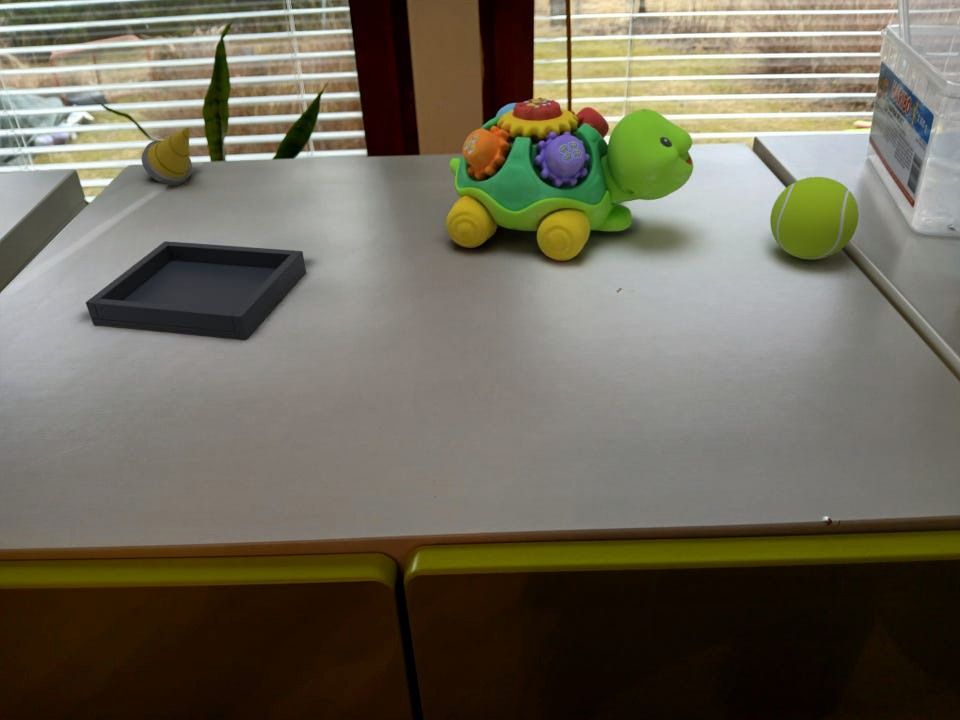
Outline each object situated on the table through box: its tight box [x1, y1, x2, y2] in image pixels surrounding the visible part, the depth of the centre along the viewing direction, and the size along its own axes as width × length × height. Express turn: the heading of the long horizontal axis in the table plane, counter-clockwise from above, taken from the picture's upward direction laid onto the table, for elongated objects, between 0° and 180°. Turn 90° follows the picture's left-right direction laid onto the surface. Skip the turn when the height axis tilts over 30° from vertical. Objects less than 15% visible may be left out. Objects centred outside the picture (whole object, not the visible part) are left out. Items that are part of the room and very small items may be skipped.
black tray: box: [85, 240, 307, 340], centre depth 67 cm, size 14×12×2 cm
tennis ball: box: [770, 176, 859, 261], centre depth 68 cm, size 7×7×7 cm
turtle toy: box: [445, 97, 694, 262], centre depth 74 cm, size 17×23×12 cm
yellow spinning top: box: [140, 127, 193, 186], centre depth 89 cm, size 5×5×10 cm
